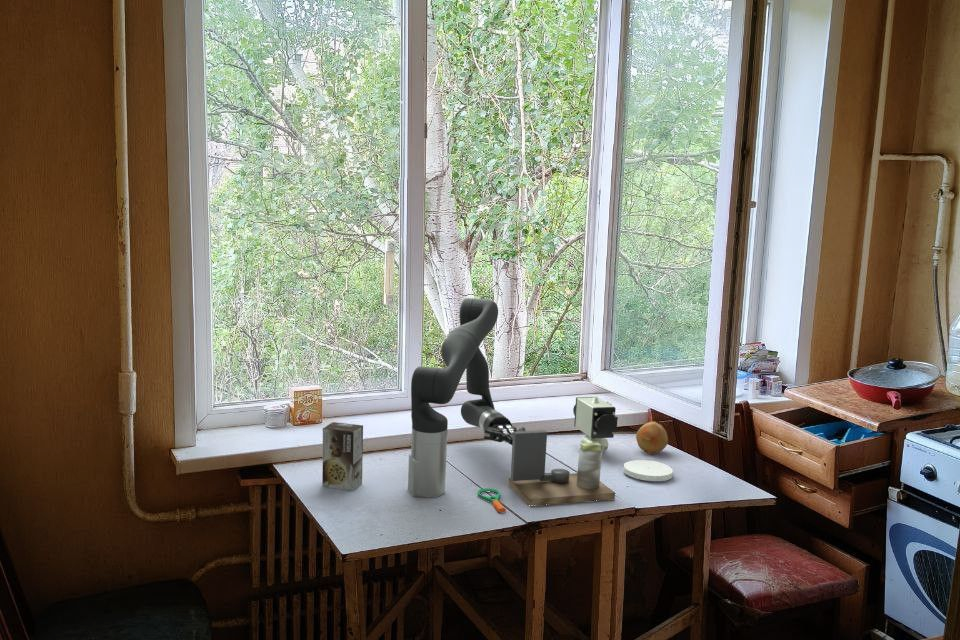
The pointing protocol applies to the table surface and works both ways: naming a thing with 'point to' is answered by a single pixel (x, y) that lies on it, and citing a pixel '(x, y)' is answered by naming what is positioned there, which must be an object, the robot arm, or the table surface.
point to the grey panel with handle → (533, 458)
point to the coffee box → (342, 456)
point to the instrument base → (569, 483)
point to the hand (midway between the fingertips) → (515, 442)
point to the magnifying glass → (492, 498)
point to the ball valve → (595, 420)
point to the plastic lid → (648, 470)
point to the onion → (652, 438)
